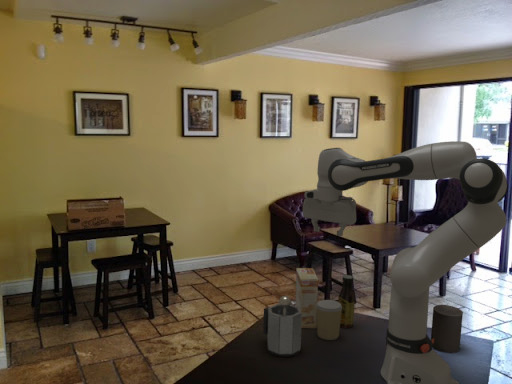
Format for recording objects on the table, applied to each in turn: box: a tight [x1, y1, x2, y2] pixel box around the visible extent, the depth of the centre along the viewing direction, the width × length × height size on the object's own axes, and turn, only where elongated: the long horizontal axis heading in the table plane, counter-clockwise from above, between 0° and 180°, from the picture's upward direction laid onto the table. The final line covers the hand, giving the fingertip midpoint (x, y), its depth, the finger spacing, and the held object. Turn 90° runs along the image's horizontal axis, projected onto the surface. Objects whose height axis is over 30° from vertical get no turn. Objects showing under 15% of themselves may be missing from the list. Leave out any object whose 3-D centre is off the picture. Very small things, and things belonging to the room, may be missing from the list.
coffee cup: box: [316, 299, 342, 341], centre depth 165 cm, size 9×9×12 cm
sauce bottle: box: [337, 274, 356, 329], centre depth 174 cm, size 7×6×20 cm
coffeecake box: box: [294, 267, 319, 329], centre depth 178 cm, size 15×7×20 cm, turn 1°
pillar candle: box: [430, 304, 464, 354], centre depth 157 cm, size 10×10×15 cm
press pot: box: [262, 303, 302, 358], centre depth 155 cm, size 14×11×14 cm
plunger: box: [278, 295, 292, 315], centre depth 153 cm, size 8×8×14 cm
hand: (328, 233), depth 158 cm, fingers open, 8 cm apart
